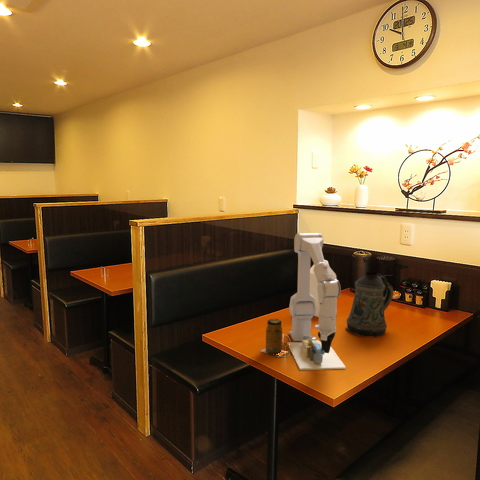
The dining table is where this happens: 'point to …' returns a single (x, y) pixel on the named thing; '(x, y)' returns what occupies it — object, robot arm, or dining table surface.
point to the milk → (314, 287)
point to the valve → (311, 351)
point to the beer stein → (370, 306)
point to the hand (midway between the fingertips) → (325, 352)
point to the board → (304, 363)
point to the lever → (316, 345)
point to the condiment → (273, 337)
